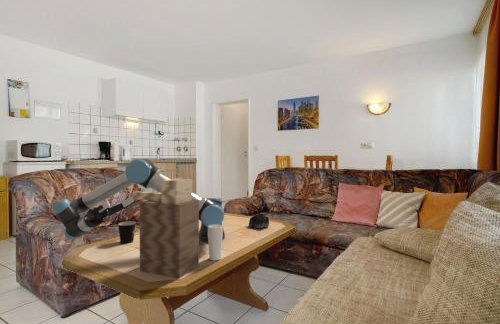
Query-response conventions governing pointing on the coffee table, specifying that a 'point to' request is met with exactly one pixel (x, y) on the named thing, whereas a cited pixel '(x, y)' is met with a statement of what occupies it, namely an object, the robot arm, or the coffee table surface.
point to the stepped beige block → (169, 192)
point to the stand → (169, 237)
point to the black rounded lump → (259, 221)
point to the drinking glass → (215, 241)
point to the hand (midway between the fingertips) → (121, 200)
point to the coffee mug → (126, 232)
